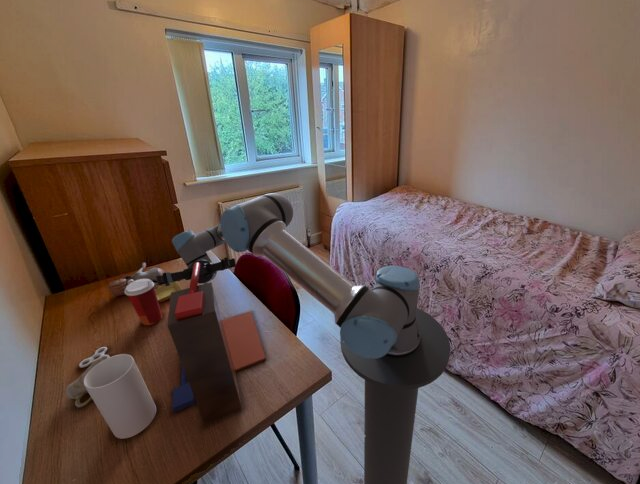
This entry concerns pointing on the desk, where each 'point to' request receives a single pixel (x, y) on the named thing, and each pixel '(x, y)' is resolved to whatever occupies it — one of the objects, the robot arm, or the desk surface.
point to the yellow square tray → (166, 291)
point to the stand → (205, 356)
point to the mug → (80, 386)
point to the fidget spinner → (94, 357)
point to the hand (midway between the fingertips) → (195, 270)
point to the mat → (243, 340)
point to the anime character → (120, 285)
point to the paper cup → (144, 300)
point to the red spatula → (191, 298)
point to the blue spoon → (182, 394)
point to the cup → (121, 395)
